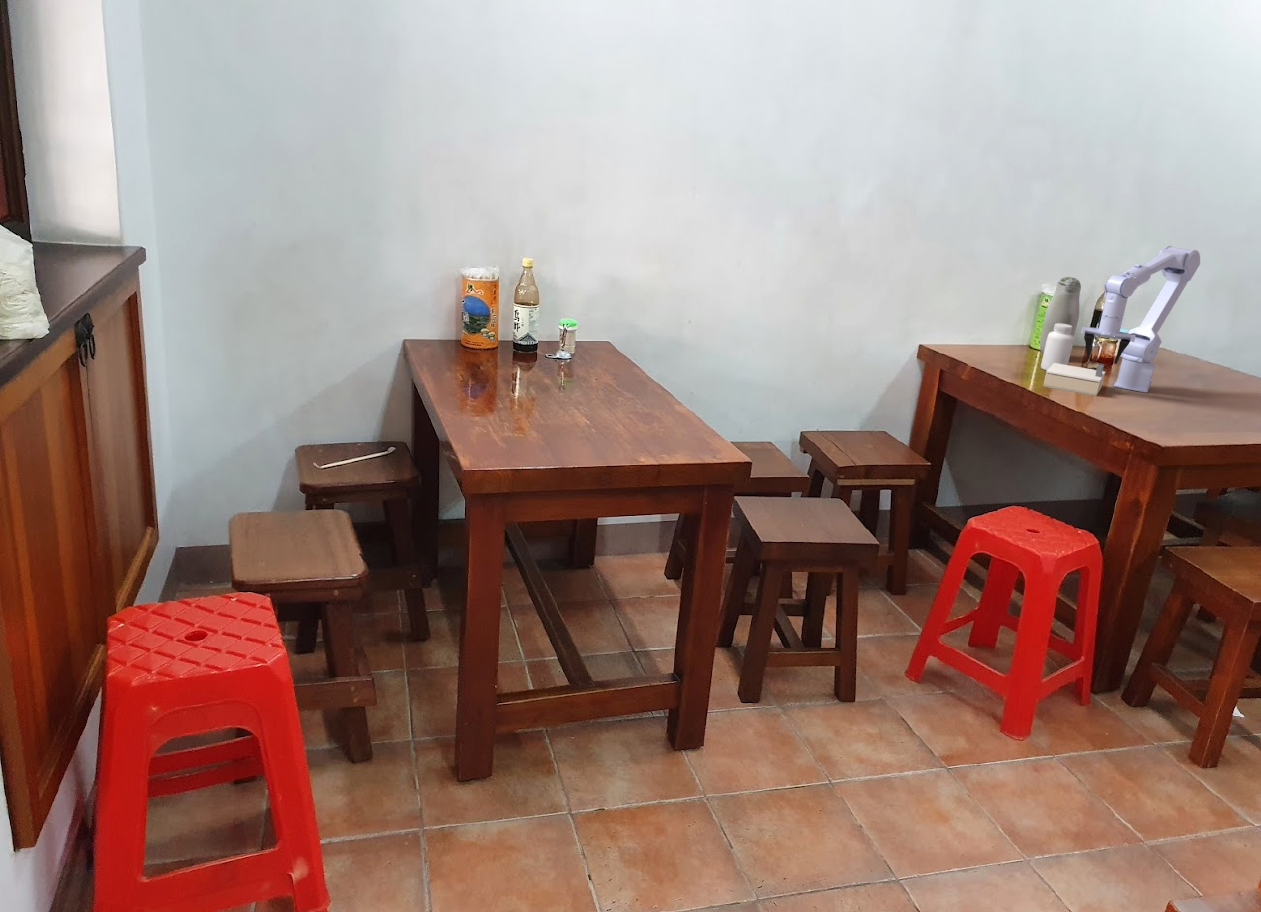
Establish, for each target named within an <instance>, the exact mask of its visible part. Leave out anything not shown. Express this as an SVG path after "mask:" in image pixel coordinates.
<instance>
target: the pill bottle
mask: <svg viewBox="0 0 1261 912" xmlns="http://www.w3.org/2000/svg"><path fill="white" fill-rule="evenodd" d="M1071 331H1072V326H1071V325H1067V324H1061V323H1057V324H1055V326H1054V331H1053V332H1050V333H1049V334H1048V337H1047V341H1046V346H1045V350H1044V354H1042V359H1041V365H1040V368H1041V369H1042V370H1044V371H1047V370H1048V369H1049V368H1050V367H1051V365H1052V364H1053V363H1058V364H1064V365H1069V363H1070V357H1071V353H1072V349H1073V344H1074V342H1075V341H1074V340H1075V336H1074V337H1073V335H1071V334H1070V333H1071Z"/></svg>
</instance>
